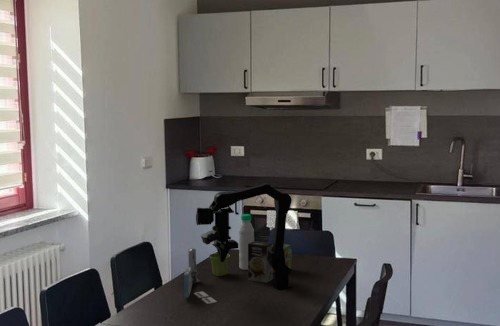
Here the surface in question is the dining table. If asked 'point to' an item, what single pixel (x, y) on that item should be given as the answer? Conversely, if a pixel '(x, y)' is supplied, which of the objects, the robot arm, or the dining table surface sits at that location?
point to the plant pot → (219, 264)
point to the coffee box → (259, 262)
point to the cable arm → (188, 281)
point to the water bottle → (245, 240)
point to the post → (193, 264)
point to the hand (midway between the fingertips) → (222, 261)
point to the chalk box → (287, 256)
